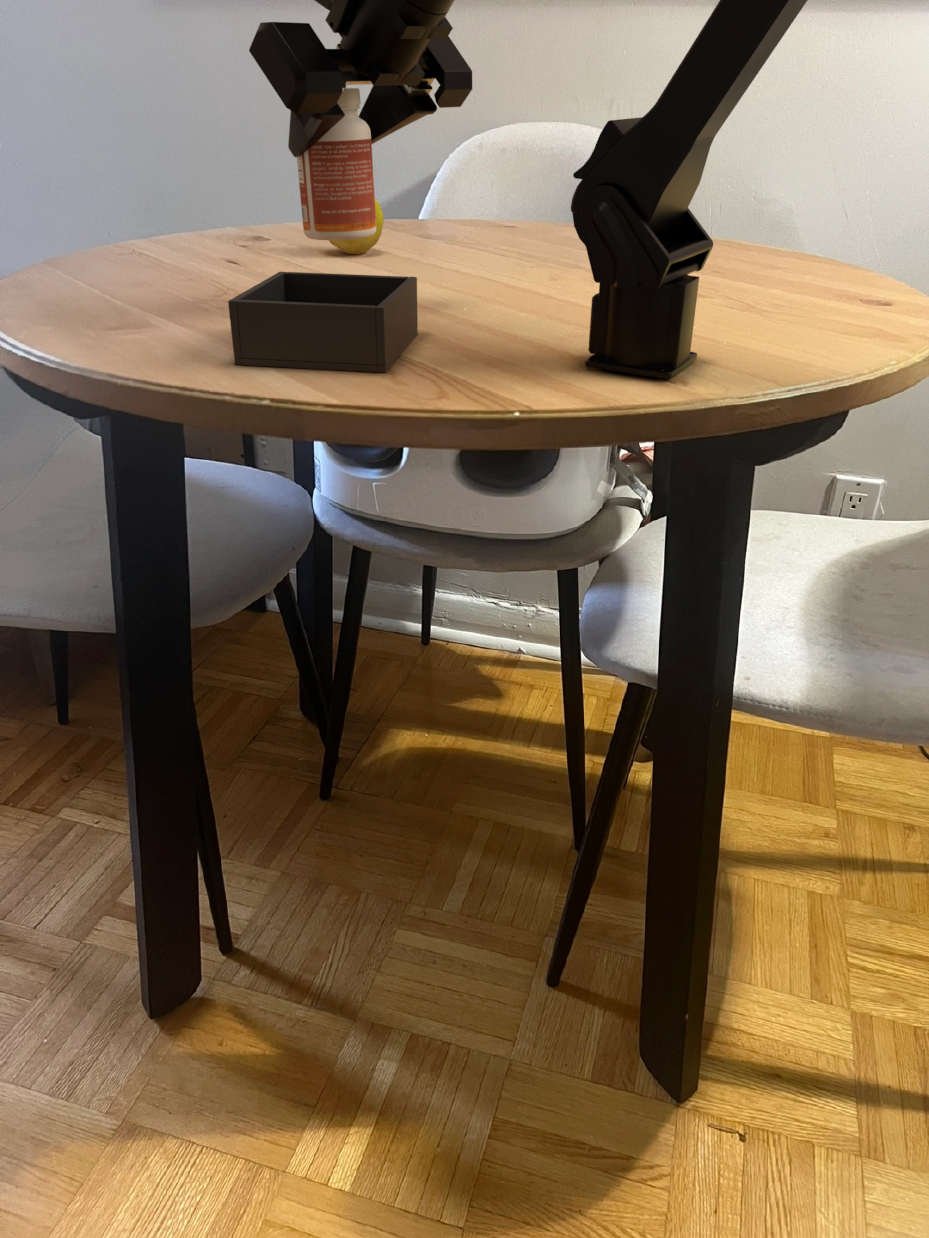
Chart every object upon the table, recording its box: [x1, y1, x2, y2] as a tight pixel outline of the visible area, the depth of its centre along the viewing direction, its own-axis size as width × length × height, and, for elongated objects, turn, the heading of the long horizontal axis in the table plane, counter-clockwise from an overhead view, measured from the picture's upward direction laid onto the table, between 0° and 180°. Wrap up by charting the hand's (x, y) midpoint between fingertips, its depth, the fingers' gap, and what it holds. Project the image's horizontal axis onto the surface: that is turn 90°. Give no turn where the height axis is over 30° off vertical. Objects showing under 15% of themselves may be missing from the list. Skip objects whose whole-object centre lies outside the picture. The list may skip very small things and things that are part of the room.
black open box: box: [227, 271, 419, 374], centre depth 74 cm, size 11×11×4 cm
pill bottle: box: [296, 87, 376, 241], centre depth 81 cm, size 6×6×11 cm
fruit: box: [328, 198, 385, 255], centre depth 110 cm, size 7×7×12 cm
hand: (323, 150), depth 82 cm, fingers closed on pill bottle, 6 cm apart
